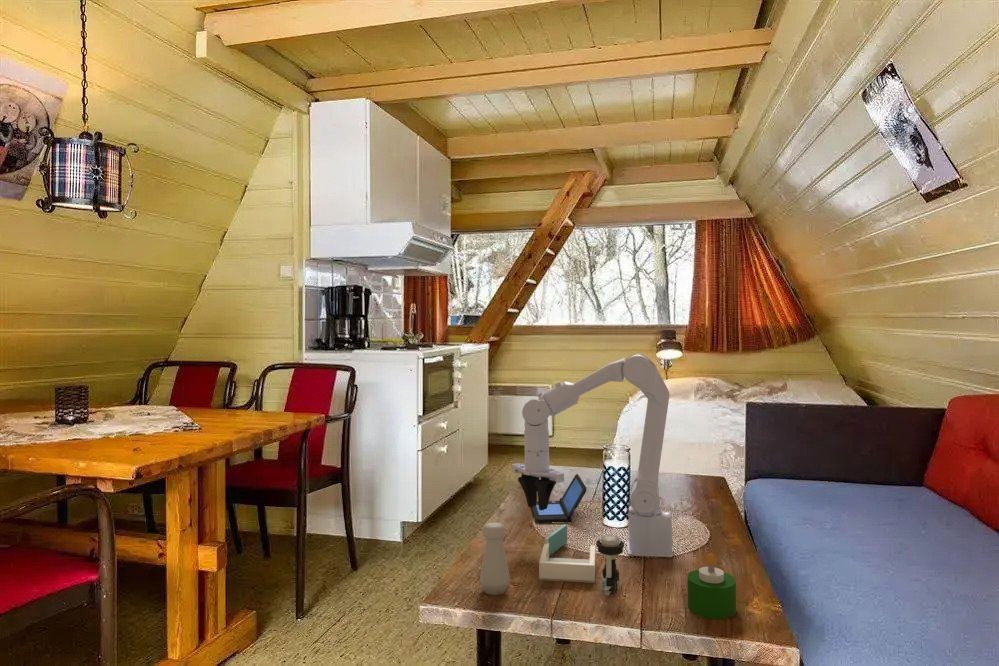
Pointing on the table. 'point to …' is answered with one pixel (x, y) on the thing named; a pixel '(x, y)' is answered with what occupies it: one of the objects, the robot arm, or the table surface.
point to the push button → (610, 561)
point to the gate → (556, 539)
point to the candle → (711, 592)
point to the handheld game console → (562, 504)
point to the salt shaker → (494, 560)
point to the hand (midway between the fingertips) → (537, 507)
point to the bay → (567, 567)
